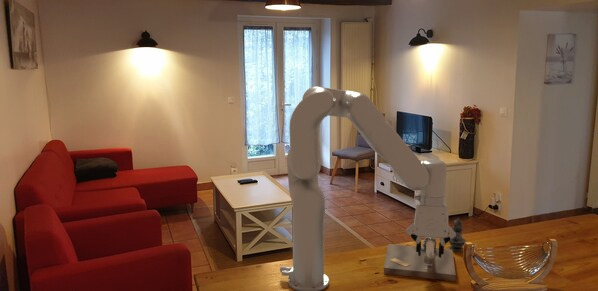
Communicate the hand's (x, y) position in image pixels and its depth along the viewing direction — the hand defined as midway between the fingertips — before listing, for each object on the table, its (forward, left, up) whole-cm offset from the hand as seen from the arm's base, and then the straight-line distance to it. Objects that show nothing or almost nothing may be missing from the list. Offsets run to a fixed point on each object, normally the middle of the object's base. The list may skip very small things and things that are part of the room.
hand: (429, 254), depth 149 cm
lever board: (-3, +8, -7) cm, 11 cm away
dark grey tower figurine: (+10, +24, -7) cm, 27 cm away
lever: (0, +8, -4) cm, 9 cm away
